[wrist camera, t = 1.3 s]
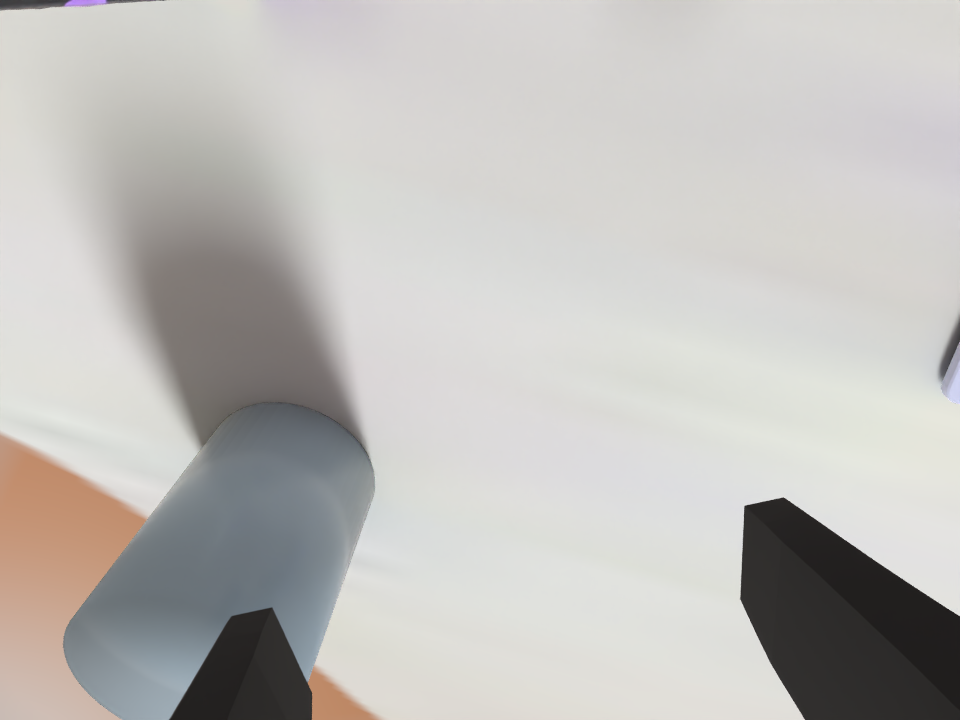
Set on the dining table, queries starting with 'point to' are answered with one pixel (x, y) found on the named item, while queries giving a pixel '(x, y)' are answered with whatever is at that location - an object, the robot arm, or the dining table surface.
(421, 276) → the dining table surface
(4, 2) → the candy box
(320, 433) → the rounded blue cylinder
